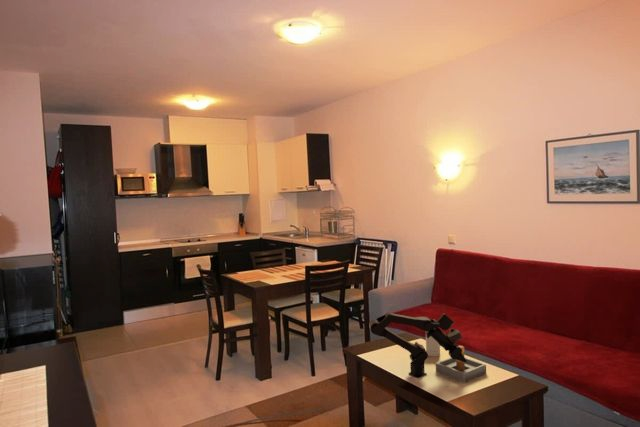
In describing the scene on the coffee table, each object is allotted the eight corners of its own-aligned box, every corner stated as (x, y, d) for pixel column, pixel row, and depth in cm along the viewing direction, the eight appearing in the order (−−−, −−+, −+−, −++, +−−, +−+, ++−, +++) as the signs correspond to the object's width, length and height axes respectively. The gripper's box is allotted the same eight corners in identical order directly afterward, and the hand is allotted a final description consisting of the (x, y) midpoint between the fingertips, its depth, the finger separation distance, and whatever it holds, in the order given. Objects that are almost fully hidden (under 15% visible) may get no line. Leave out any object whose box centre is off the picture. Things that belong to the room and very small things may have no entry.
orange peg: (463, 374, 214) (463, 348, 213) (455, 373, 216) (454, 347, 215) (465, 371, 217) (465, 346, 217) (457, 370, 219) (456, 345, 219)
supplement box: (440, 356, 239) (439, 333, 238) (426, 356, 240) (425, 333, 240) (439, 351, 246) (438, 329, 246) (426, 351, 248) (425, 329, 247)
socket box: (463, 383, 205) (463, 373, 205) (435, 371, 219) (435, 363, 219) (486, 373, 214) (485, 364, 214) (458, 363, 228) (457, 354, 228)
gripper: (457, 331, 206) (481, 353, 207) (446, 319, 225) (468, 340, 225) (441, 348, 207) (465, 370, 207) (431, 335, 225) (453, 355, 226)
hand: (463, 358), depth 216 cm, fingers open, 9 cm apart
